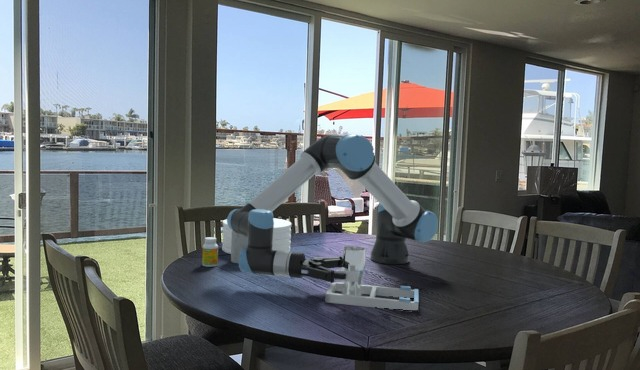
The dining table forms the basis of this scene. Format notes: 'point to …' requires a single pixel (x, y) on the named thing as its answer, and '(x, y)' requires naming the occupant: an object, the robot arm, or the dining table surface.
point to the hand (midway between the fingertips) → (360, 271)
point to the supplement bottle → (210, 252)
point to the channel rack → (371, 297)
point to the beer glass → (353, 268)
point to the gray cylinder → (237, 246)
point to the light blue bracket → (416, 298)
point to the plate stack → (279, 236)
